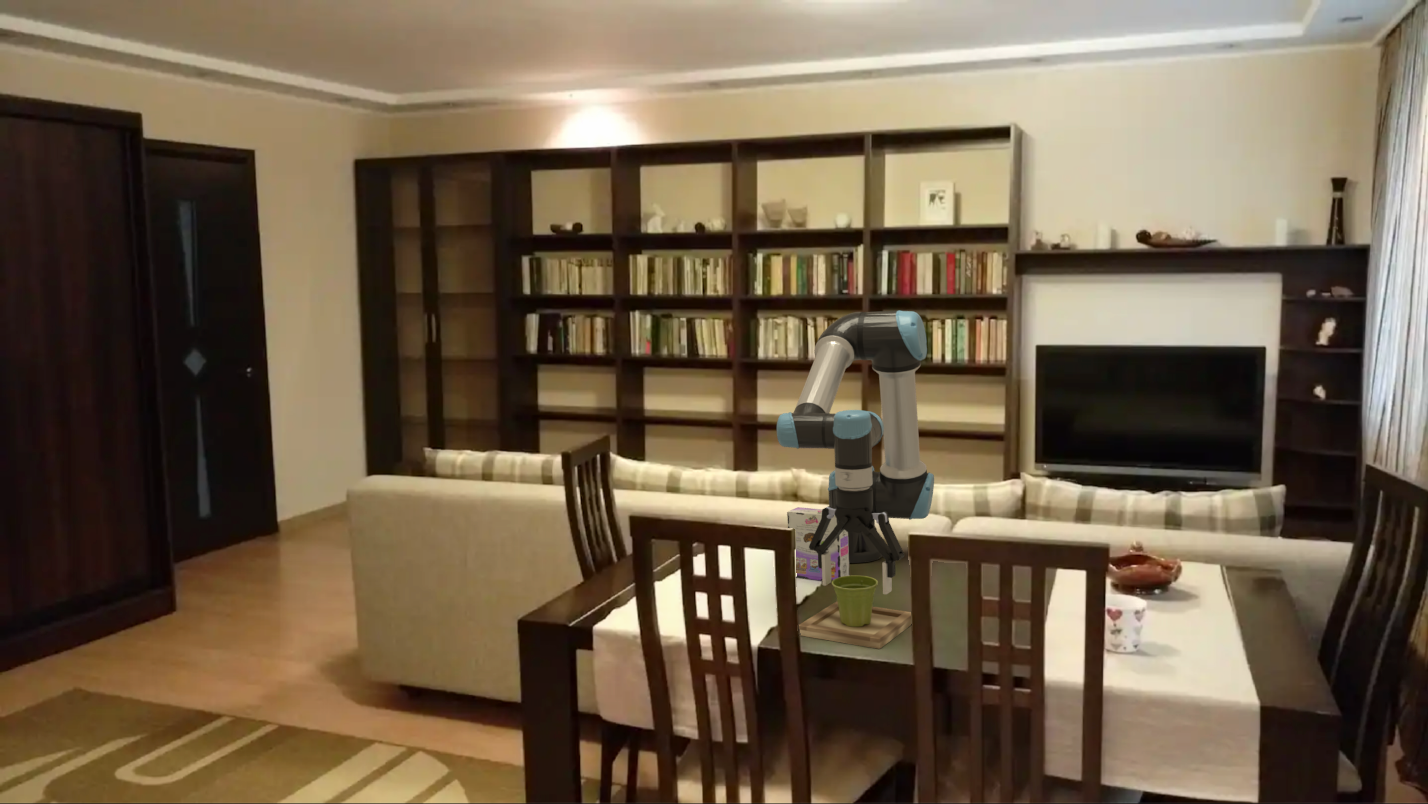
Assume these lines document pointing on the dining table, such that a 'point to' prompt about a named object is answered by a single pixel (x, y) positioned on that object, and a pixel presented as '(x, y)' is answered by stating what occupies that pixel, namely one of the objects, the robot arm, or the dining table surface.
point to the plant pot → (855, 599)
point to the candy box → (807, 559)
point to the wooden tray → (871, 635)
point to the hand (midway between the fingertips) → (856, 587)
